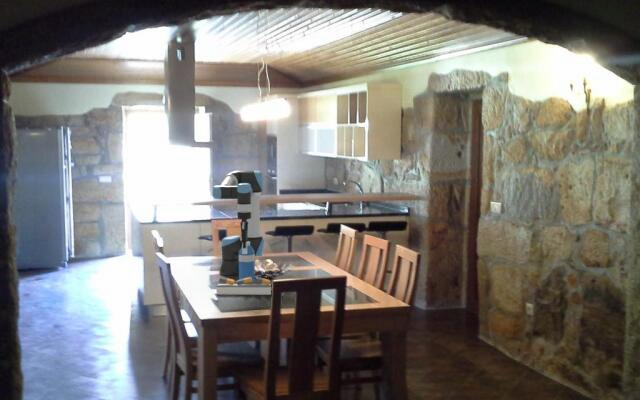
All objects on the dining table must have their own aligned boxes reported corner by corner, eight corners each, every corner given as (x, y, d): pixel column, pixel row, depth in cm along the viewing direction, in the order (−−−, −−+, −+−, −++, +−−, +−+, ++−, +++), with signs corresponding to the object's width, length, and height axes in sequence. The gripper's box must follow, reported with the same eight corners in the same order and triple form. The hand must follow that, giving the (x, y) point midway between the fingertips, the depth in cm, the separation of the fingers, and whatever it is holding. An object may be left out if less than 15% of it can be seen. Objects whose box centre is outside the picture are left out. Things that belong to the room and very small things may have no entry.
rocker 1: (220, 279, 387) (220, 276, 387) (233, 283, 387) (234, 280, 387) (218, 281, 382) (219, 278, 382) (232, 285, 382) (233, 281, 382)
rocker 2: (238, 283, 387) (237, 280, 387) (252, 279, 387) (251, 276, 387) (237, 285, 382) (236, 281, 382) (251, 281, 382) (250, 278, 382)
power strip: (219, 290, 390) (219, 281, 390) (272, 290, 390) (272, 281, 390) (216, 294, 380) (216, 285, 380) (270, 294, 380) (270, 285, 380)
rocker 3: (255, 279, 387) (256, 276, 387) (269, 283, 387) (270, 280, 387) (254, 281, 382) (255, 278, 382) (268, 285, 382) (269, 282, 382)
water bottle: (240, 286, 399) (239, 243, 397) (237, 282, 408) (237, 241, 406) (256, 285, 402) (255, 242, 399) (253, 281, 411) (253, 240, 408)
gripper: (239, 210, 387) (239, 251, 389) (235, 213, 374) (236, 255, 376) (252, 210, 387) (252, 251, 389) (249, 213, 374) (250, 255, 376)
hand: (244, 253), depth 383 cm, fingers closed
